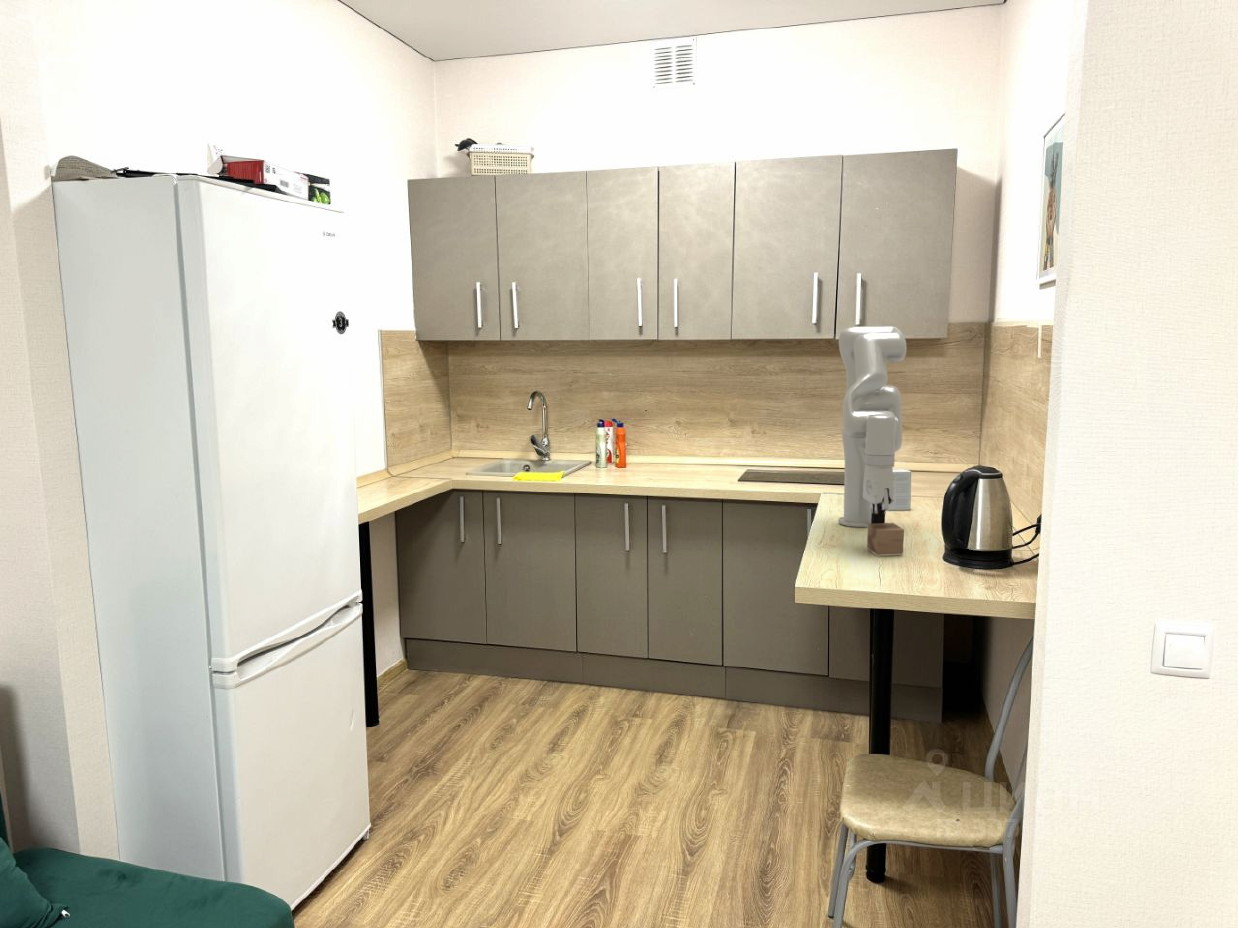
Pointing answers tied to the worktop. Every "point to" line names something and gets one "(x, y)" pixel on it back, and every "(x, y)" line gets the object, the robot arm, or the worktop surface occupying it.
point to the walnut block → (885, 539)
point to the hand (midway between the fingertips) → (877, 527)
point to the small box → (901, 490)
